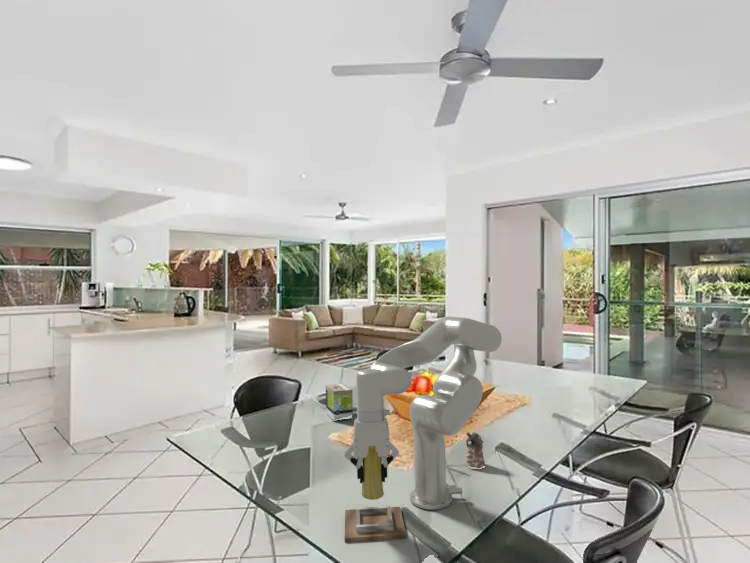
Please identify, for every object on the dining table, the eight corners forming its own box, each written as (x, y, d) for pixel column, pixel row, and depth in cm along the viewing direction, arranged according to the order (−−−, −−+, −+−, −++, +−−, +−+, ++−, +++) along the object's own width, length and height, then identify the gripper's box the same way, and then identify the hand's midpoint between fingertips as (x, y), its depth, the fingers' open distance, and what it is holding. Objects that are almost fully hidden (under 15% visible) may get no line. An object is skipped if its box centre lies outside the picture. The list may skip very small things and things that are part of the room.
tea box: (353, 419, 213) (352, 389, 213) (333, 422, 209) (332, 391, 209) (344, 411, 227) (343, 382, 227) (325, 413, 223) (324, 384, 223)
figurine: (485, 470, 153) (484, 436, 153) (464, 469, 154) (464, 435, 154) (484, 462, 160) (483, 429, 160) (464, 461, 161) (464, 428, 161)
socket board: (400, 510, 129) (399, 501, 129) (406, 538, 115) (405, 528, 115) (345, 513, 128) (345, 504, 128) (344, 542, 114) (344, 532, 114)
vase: (371, 487, 125) (370, 437, 125) (388, 493, 121) (387, 441, 121) (357, 495, 120) (356, 443, 120) (374, 502, 117) (373, 448, 117)
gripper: (400, 409, 125) (401, 473, 125) (339, 411, 124) (341, 476, 124) (403, 417, 118) (405, 485, 118) (339, 420, 117) (340, 488, 117)
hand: (372, 479), depth 121 cm, fingers closed on vase, 5 cm apart
